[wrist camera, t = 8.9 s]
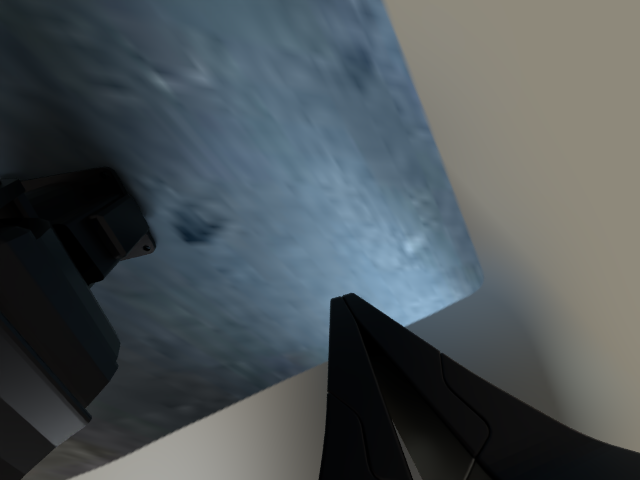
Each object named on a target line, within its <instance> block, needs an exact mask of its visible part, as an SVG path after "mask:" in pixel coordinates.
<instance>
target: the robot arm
mask: <svg viewBox="0 0 640 480" xmlns="http://www.w3.org/2000/svg"><path fill="white" fill-rule="evenodd" d="M103 172H106V173H108V174H109V178H106V177H104V176H103ZM148 230H149V226H148V224H147V222H146V220H145V219H144V217H143V215H142V213H141V211H140V210H139V208H138V206H137V204H136V202H135V200H134V199H133V197H132V196H130V195H128V194H127V192H126V190H125V188H124V187H123V185H122V183H121V181H120V179H119V178H118V176H117V174H116V172H115V171H114V170H113V169H111V168H109V167H99V168H93V169H87V170H82V171H76V172H70V173H64V174H59V175H53V176H47V177H42V178H36V179H30V180H25V181H20V180H19V179H1V180H0V480H21V479H22V478H23V477H24V475H25V474H27V473H28V472H29V471H30V470H31V469H32V468H33V467H34V466H35V465H37V464H38V463H39V462H40V461H41V460H42V459H43V458H44V457H46V456H47V455H48V454H49V453H50V452H51V451H52V450H53V449H54V448H56V447H57V446H58V445H60V444H61V443H62V442H64V441H65V440H66V439H68V438H69V437H71V436H72V435H73V434H75V433H76V432H78V431H79V430H80V429H82V428H83V427H84V426H86V425H87V424H88V423H89V422H90V421H91V419H92V416H91V415H90V414H89V413H88V411H87V410H86V409H85V408H86V407H87V406H88V405H89V404H90V403H91V402H92V401H93V399H94V398H95V397H96V396H97V395H98V394H99V393H100V392H101V391H102V389H103V388H104V387H105V386H106V385H107V384H108V383H109V381H110V380H111V378H112V377H113V375H114V373H115V372H116V370H117V369H118V364H117V362H116V360H117V358H118V353H119V348H120V341H119V338H118V336H117V334H116V332H115V330H114V329H113V327H112V325H111V324H110V322H109V320H108V319H107V317H106V315H105V314H104V312H103V310H102V309H101V307H100V305H99V304H98V302H97V300H96V299H95V297H94V295H93V294H92V292H91V290H90V288H91V287H92V286H93V285H94V283H95V282H99V281H102V280H103V279H104V278H105V277H106V276H107V275H108V274H109V272H110V271H111V270H112V269H113V268H114V267H115V266H116V265H117V263H118V262H119V261H122V260H126V259H130V258H134V257H138V256H143V255H147V254H150V253H153V251H154V250H155V249H156V244H155V242H154V241H153V239H152V237H151V235H150V233H149V232H148ZM145 245H148V246H150V249H148V248H146V247H145ZM327 392H328V394H327V411H326V425H325V436H324V444H323V453H322V460H321V467H320V473H319V480H413V478H412V475H411V472H410V470H409V467H408V464H407V461H406V458H405V456H404V453H403V451H402V447H401V444H400V442H399V439H398V436H397V433H396V430H395V428H394V425H395V427H396V429H397V431H398V433H399V435H400V437H401V439H402V441H403V442H404V444H405V447H406V448H407V450H408V452H409V454H410V456H411V458H412V460H413V462H414V464H415V466H416V468H417V470H418V472H419V474H420V476H421V478H422V480H640V453H639V452H635V451H631V450H628V449H624V448H621V447H617V446H614V445H611V444H608V443H605V442H602V441H600V440H597V439H594V438H592V437H589V436H587V435H585V434H582V433H580V432H578V431H576V430H574V429H572V428H570V427H568V426H566V425H564V424H562V423H560V422H559V421H557V420H555V419H553V418H551V417H550V416H548V415H546V414H544V413H542V412H541V411H539V410H537V409H535V408H534V407H532V406H530V405H528V404H526V403H525V402H523V401H521V400H519V399H518V398H516V397H514V396H512V395H510V394H509V393H506V392H505V391H503V390H502V389H500V388H498V387H496V386H494V385H493V384H491V383H490V382H488V381H486V380H484V379H483V378H481V377H479V376H478V375H476V374H474V373H473V372H471V371H470V370H468V369H466V368H465V367H463V366H462V365H460V364H459V363H457V362H455V361H454V360H452V359H451V358H450V357H448V356H447V355H445V354H444V353H441V354H440V351H439V350H438V349H436V348H435V347H433V346H432V345H430V344H429V343H427V342H426V341H424V340H423V339H421V338H420V337H418V336H417V335H415V334H414V333H412V332H411V331H409V330H408V329H406V328H405V327H403V326H402V325H400V324H399V323H397V322H396V321H394V320H393V319H391V318H390V317H389V316H387V315H386V314H384V313H383V312H381V311H380V310H378V309H377V308H375V307H374V306H372V305H371V304H369V303H368V302H366V301H365V300H363V299H362V298H360V297H359V296H357V295H356V294H354V293H349V294H346V295H343V296H342V297H341V296H339V297H336V298H332V299H331V301H330V328H329V357H328V386H327ZM392 421H393V422H392ZM393 423H394V425H393Z"/></svg>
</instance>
